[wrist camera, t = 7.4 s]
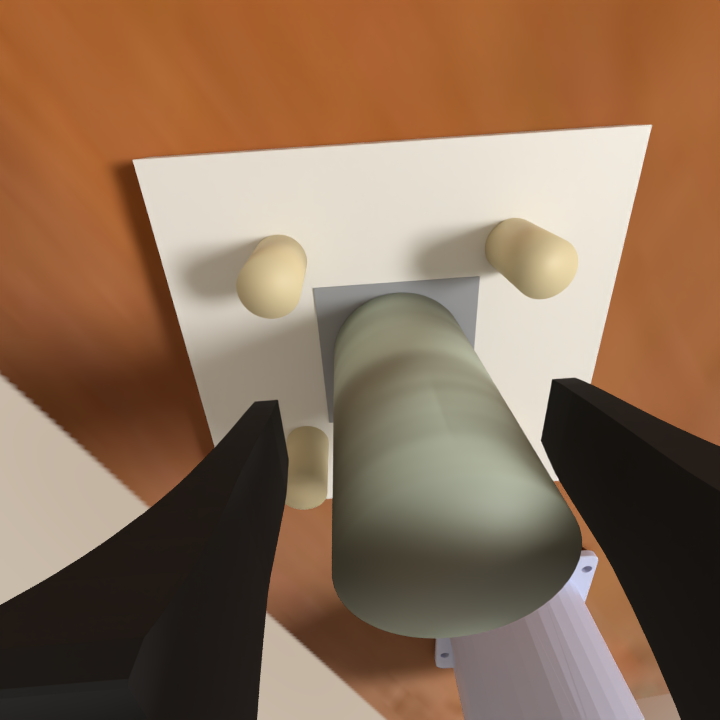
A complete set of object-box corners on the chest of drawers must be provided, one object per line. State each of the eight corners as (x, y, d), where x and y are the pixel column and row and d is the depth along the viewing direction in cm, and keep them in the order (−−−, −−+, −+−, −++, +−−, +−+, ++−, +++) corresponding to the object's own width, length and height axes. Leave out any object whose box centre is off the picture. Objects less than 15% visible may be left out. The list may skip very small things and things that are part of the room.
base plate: (554, 460, 19) (599, 529, 16) (237, 484, 19) (216, 559, 16) (626, 124, 13) (725, 124, 9) (150, 156, 12) (84, 168, 9)
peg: (458, 402, 16) (557, 629, 9) (338, 411, 16) (341, 646, 9) (468, 288, 14) (608, 466, 7) (328, 296, 13) (320, 487, 6)
